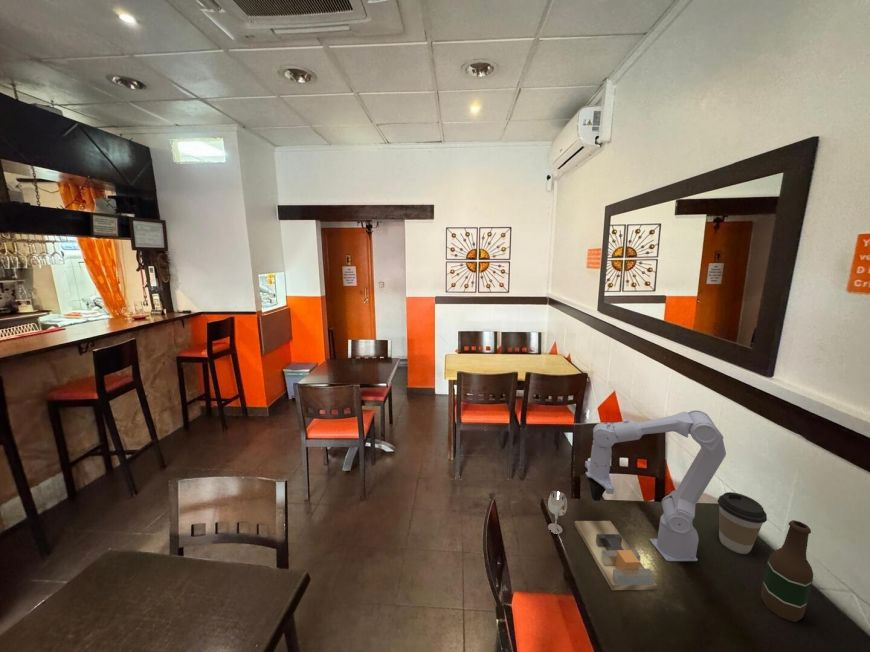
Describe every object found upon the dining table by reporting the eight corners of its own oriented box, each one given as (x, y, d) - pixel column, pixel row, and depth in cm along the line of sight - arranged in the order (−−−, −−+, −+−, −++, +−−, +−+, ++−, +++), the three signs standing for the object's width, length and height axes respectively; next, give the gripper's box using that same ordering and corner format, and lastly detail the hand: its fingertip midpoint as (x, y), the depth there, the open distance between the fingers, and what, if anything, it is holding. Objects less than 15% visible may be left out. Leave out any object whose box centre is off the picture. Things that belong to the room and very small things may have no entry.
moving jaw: (623, 542, 104) (624, 534, 103) (639, 564, 96) (640, 556, 96) (590, 542, 104) (591, 534, 103) (604, 565, 96) (605, 556, 95)
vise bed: (609, 524, 113) (610, 520, 113) (656, 589, 91) (656, 584, 90) (574, 525, 113) (574, 521, 112) (612, 590, 90) (612, 585, 90)
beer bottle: (751, 592, 90) (768, 512, 86) (781, 594, 90) (800, 513, 86) (779, 622, 83) (800, 536, 78) (812, 624, 82) (835, 537, 78)
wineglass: (561, 522, 114) (565, 490, 112) (566, 536, 108) (570, 502, 106) (544, 521, 114) (547, 489, 112) (548, 534, 108) (551, 501, 106)
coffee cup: (726, 527, 113) (734, 486, 111) (768, 554, 103) (778, 510, 100) (702, 535, 110) (709, 493, 107) (743, 564, 99) (752, 518, 96)
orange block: (637, 578, 92) (640, 562, 91) (623, 578, 92) (625, 562, 91) (628, 565, 96) (631, 550, 95) (615, 565, 96) (617, 550, 95)
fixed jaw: (648, 578, 92) (649, 568, 92) (653, 584, 90) (654, 575, 90) (612, 578, 92) (613, 568, 91) (616, 585, 90) (617, 575, 89)
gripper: (577, 449, 115) (574, 485, 118) (599, 474, 101) (594, 515, 103) (598, 449, 116) (594, 485, 118) (622, 474, 101) (617, 515, 104)
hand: (595, 499), depth 111 cm, fingers closed
